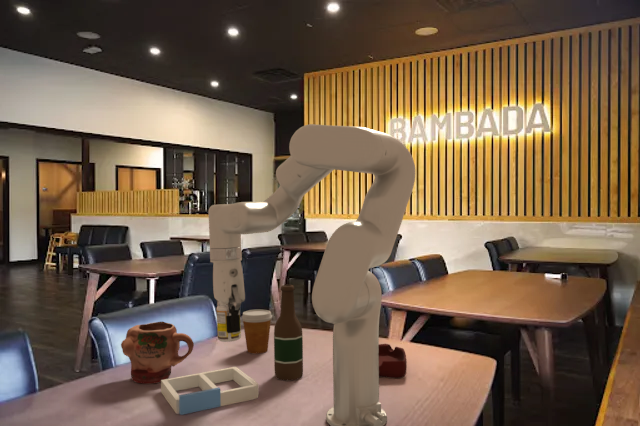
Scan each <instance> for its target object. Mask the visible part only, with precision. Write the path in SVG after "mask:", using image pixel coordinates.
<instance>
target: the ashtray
mask: <svg viewBox="0 0 640 426" xmlns="http://www.w3.org/2000/svg"><path fill="white" fill-rule="evenodd" d="M378 347H379V377H381V378H391V379H392V378H393V379H401V378H403V377H406V374H407V368H408V367H407V365H408V364H407V363H408V362H407V361H408V360H407V355H406V351H405V349H404V348H403V347H400V346H395V347H394V349H393V348H392V346H391V344H388V343H379V346H378Z"/></svg>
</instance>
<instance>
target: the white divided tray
mask: <svg viewBox="0 0 640 426" xmlns="http://www.w3.org/2000/svg"><path fill="white" fill-rule="evenodd" d="M229 381H234V382H235V383H236V384H237V385H238V386H239V387H236V388H231V389H226V390H221V388H220V387H218V386H217V385H216V384H219V383H224V382H229ZM194 388H199V389H201V390H198V391H195V392H189V393H185V394H178V392H179V391H184V390H188V389H194ZM177 391H178V392H177ZM160 392H161V394H162V396H163V397H164V398H165V400H166V401H167V403H168V404H169V405H170V407H171V408H172V410H173V411H174V412H175V414H176V415H179V416H182V415H186V414H192V413H196V412H201V411H202V412H203V411H206V410H210V409H215V408H220V407H224V406H225V407H226V406H229V405H233V404H238V403H243V402H247V401H252V400H257V399H258V397H259V383H258V382H257V381H255V380H254V379H253V378H252V377H250V376H249V375H248V374H247V373H245V372H243V370H241V369H239V368H238V367H237V366H232V367H226V368H221V369H216V370H210V371H204V372H199V373H193V374H187V375H182V376H176V377H171V378H170V377H169V378H167V379H164V380H161V382H160Z"/></svg>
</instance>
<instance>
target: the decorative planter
mask: <svg viewBox="0 0 640 426" xmlns="http://www.w3.org/2000/svg"><path fill="white" fill-rule="evenodd" d="M177 330H178V329H177V327H176V326H175V325H174V324H173V323H169V322H165V321H156V322H155V321H154V322H149V323H144V324H137V325H134V326H132V327H129V328H128V329H127V332H126V333H125V334H126V335H125V338H124V339H123V340H122V341H121V343H120V347H121V349H122V353H123V355H124V356H126V357H128V359H129V361H130V363H131V364H130V377H131V380H132V381H134V383H138V384H144V385H145V384H147V385H149V384H151V385H152V384H159V383H161V380H164V379H169V378H170V376H171V374H172V367H173V368H174V367H176V366H177V365H178V364H180V363H182V362H183V361H184V360H185V359H187V357H189V356H190V355H191V354H192V352H193V350H194V347H195V345H194V341H193V339H192V338H191V336H190V335H188V334H186V333H182V332H178V333H177ZM181 342H184V343H186V345H187V348H188V350H187V352H186V353H185V354H184V355H179V351H180V344H181Z"/></svg>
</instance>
